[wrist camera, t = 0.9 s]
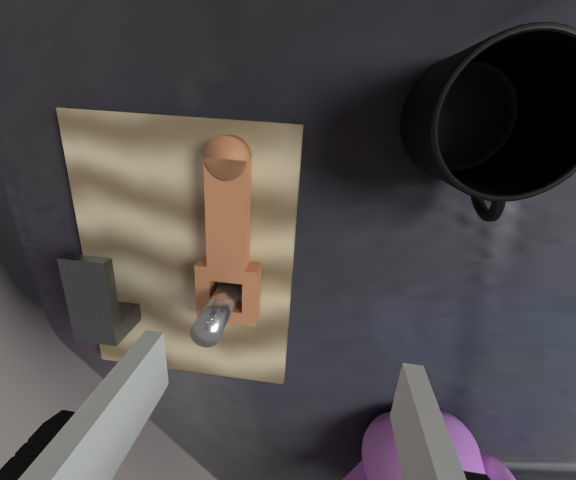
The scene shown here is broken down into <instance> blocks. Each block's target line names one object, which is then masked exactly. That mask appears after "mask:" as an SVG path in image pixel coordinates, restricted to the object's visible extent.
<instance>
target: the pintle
mask: <svg viewBox="0 0 576 480" xmlns="http://www.w3.org/2000/svg"><path fill="white" fill-rule="evenodd" d="M241 294H242V284H233V283H224V282H220V284H219V285H218V287H217V288H216V290H215V292H214V293H213V295H212V296H211V298H210V299H209V301H208V302H207V304H206V305H205V307H204V308H203V310H202V312H201V313H200V315H199V316H198V318H197V319H196V321H195V322H194V324H193V325H192V327H191V329H190V337H191V339H192V340H193V342H194V343H196V344H197V345H199V346H201V347H206V348H208V347H212V346H214V345H216V344H217V342H218V341H219V338H220V336H221V334H222V332H223V330H224V328H225V326H226V324H227V322H228V320H229V318H230V316H231V314H232V312H233V310H234V308H235V306H236V304H237V302H238V300H239V298H240V296H241Z"/></svg>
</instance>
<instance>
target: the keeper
mask: <svg viewBox="0 0 576 480" xmlns="http://www.w3.org/2000/svg"><path fill="white" fill-rule="evenodd" d="M57 262H58V266H59V271H60V276H61V280H62V285H63V289H64V294H65V299H66V303H67V308H68V313H69V317H70V322H71V326H72V331H73V336H74V340H75V341H80V342H87V343H94V344H102V345H109V346H117V345H118V344H119V343H120V342H121V341H122V340H123V339H124V338H125V337H126V336H127V335H128V334H129V332H130V331H131V330H132V329H133V328H134V327H135V326H136V325H137V324H138V323H139V322H140V321H141V319H142V318H141V309H140V304H137V303H129V302H121V301H118V297H117V290H116V283H115V276H114V270H113V263H112V258H107V257H98V256H88V255H79V254H70V253H66V254H64V255H62V256H60V257H58V258H57Z"/></svg>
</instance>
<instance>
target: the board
mask: <svg viewBox="0 0 576 480" xmlns="http://www.w3.org/2000/svg"><path fill="white" fill-rule="evenodd" d="M56 111H57V117H58V122H59V128H60V133H61V138H62V144H63V149H64V155H65V160H66V166H67V171H68V177H69V182H70V188H71V193H72V198H73V204H74V209H75V215H76V220H77V226H78V231H79V237H80V242H81V247H82V253H83V255H88V256H98V257H107V258H112V263H113V270H114V276H115V283H116V290H117V297H118V301H121V302H129V303H137V304H140V309H141V318H142V319H141V321H140V322H139V323H138V324H137V325H136V326H135V327H134V328H133V329H132V330H131V331H130V332H129V334H128V335H127V336H126V337H125V338H124V339H123V340H122V341H121V342H120V343H119V344H118V345H117V346H109V345H102V344H99V346H100V351H101V356H102V359H105V360H113V361H120V360H121V358H122V357H123V356H124V355H125V354H126V353H127V351H128V350H129V349H130V348H131V347H132V345H133V344H134V343H135V342H136V341H137V340H138V338H139V337H140V336H141V335H142V334H143V333H144V331H145V330H149V331H157V332H164V342H165V352H166V363H167V368H170V369H177V370H185V371H192V372H199V373H206V374H213V375H221V376H228V377H235V378H242V379H249V380H256V381H264V382H271V383H278V384H283V383H284V377H285V365H286V352H287V338H288V325H289V312H290V299H291V286H292V272H293V259H294V246H295V233H296V219H297V206H298V193H299V180H300V166H301V153H302V140H303V127H304V125H303V124H289V123H275V122H260V121H246V120H232V119H217V118H203V117H188V116H174V115H160V114H145V113H131V112H117V111H102V110H88V109H74V108H56ZM225 135H235V136H238V137H240V138H241V139H243V140H244V141H245V142H246V143H247V145H248V146H249V148H250V151H251V155H252V164H251V211H250V258H249V262H251V263H260V264H261V290H260V316H259V319H258V322H257V324H256V327H251V326H243V325H235V324H226V326H225V328H224V330H223V332H222V334H221V336H220V338H219V341H218V342H217V344H216V345H214V346H212V347H208V348H206V347H201V346H199V345H197V344H196V343H194V342H193V340H192V339H191V337H190V329H191V327H192V325H193V324H194V322H195V321H196V319H197V314H196V293H195V272H194V266H195V264H196V263H197V262H198V261H199V260H200V259H201V258H202V257H204V258H206V231H205V199H204V168H203V153H204V149H205V147H206V145H207V144H208V143H209V141H211V140H212V139H214V138H216V137H219V136H225ZM219 284H220V282H216V288H217V287H218V285H219ZM238 302H242V294H241V296H240V298H239V300H238Z"/></svg>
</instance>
